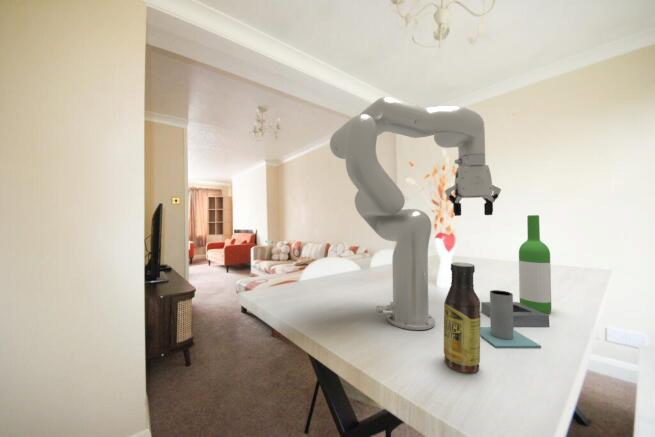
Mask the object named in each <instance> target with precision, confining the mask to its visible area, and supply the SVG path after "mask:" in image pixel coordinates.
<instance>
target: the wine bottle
mask: <svg viewBox="0 0 655 437" xmlns="http://www.w3.org/2000/svg"><path fill="white" fill-rule="evenodd" d="M540 233H541V232H540V215H538V214H535V215H534V214H532V215H527V240H526V241H524V242H523V243H522V244H521V245H520V246H519V250H518V278H519V279H518V281H519V282H518V283H519V284H518V287H519V289H518V290H519V296H518V297H519V303H521V304H523V305H526V306H528V307H530V308H533V309H535V310H537V311H540V312H542V313H545V314H547V315H548V314H550V313H551V312H552V274H551V270H552V269H551V252H550V249H549V247H548V245H546V244H545V243H544V242H542V241H541V236H540Z"/></svg>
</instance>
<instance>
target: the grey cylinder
mask: <svg viewBox="0 0 655 437" xmlns="http://www.w3.org/2000/svg"><path fill="white" fill-rule="evenodd" d="M513 295H514V294H513V293H511V292H510V291H507V290H506V291H504V290H501V289H500V290H499V289H498V290H497V289H494V290H493V289H492V290H490V291H489V302H490V317H489V318H490V325H489V327H491V334H492V335H493V336H495V337H497V338H501V339H507V340H509V339H513V330H514V327H513V302H514V296H513Z"/></svg>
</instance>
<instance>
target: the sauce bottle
mask: <svg viewBox="0 0 655 437" xmlns="http://www.w3.org/2000/svg"><path fill="white" fill-rule="evenodd" d="M475 267H476V266H475V265H474V264H473V263H468V262H460V261H459V262H458V261H457V262H452V263H451V264H450V271H451V283H450V284H451V285H450V287H449V290H448V292H447V294H446V298H445V299H444V303H443V304H444V305H443V307H444V308H443V309H444V311H443V354H444V361H445V363H446V365H447V366H448V367H450V368H451V369H453V370H455V371H457V372H459V373H467V374H469V373H475V372H478V370H480V363H481V362H480V361H481V337H480V327H481V310H480V309H481V301H480V298H479V297H478V295H477V294H476V292H475V290H474V287H475V286H474V273H475Z"/></svg>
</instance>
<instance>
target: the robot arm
mask: <svg viewBox="0 0 655 437" xmlns="http://www.w3.org/2000/svg"><path fill="white" fill-rule="evenodd" d="M387 132H389V133H393V134H396V135H401V136H405V137H409V138H414V139H418V138H419V139H420V138H426V137H430V136H433V140H434V142H435V144H436V145H437V146H438V147H441V148H444V149H445V148H446V149H447V148H448V149H449V148H458V150H457V151H458V158H457V159H455V160H454V164H455V165H457V166H458V167H457V168H456V172H455V177H454V185H453V186H450V187H448V188H447V189H445V190H444V193H445V196H446V198H447V199H448V200H449V201H450V202H451V204H452V209H453V210H452V212H453V214H454V216H455V217H458V216H459V217H460V216H462V204H461V200H462V199H467V198H468V199H469V198H470V199H471V198H475V199H476V198H481V199H483V200H484V204H483V209H484V212H483V213H484V215H485V216H492V215H493V212H494V203H495V201H496V200H497V199H498V198H499V195H500V193H501V191H502V189H501V188H500V187H498V186H495V185H494V184H493V181H492V179H493V178H492V174H491V170H490V167H489V165H488V164H486V138H485V137H486V134H485V133H486V132H485V122H484V119H483V117H482V116H481V115H480V114H479V113H478V112H476V111H474V110H472V109H469V108H465V107H461V106H458V105H457V106H456V105H455V106H454V105H449V106H448V105H447V106H445V105H444V106H431V107H430V106H429V107H424V106H420V105H418V104H413V103H410V102H407V101H404V100H402V99H398V98H395V97H392V96H383V97H380V98H378V99H376V100H375V101H374V102H372V103H371V104H370V105H369V106H367V108H366V109H364V110H362V111H361V113H359V114H357V115H355V116H353V117H352V118H350V119H349V120H347V121H346V122H345V123H344V124H343V125H342V126H340V127H339V128H338V129H337V130H336V131H335V132H333V134H332V135H331V137H330V139H329V140H330V141H329V148H330V151H331V153H332V154H333V155H334V156H335V157H336V158H339V159H341V160H345V168H346V172H347V175H348V178H349V179H350V181H351V183H352V184H353V186H355V189H357V192H356V194H355V196H354V205H355V208H356V211H357V213H358V215H360V217H361V218H362V220H364V221H365V222H366V223H367V225H368V226H369V227H370V228H371V229H372V230H373V231H374V232H375V233H376V234H377V235H378V236H379V237H380V238H382V239H383V240H386V241H388V242H396V244H395V247H394V250H393V253H392V259H391V260H392V301H389V304H388V305H386V306H385V305H384V306H383V305H376V306H375V310H376V314H382V316H387V321H388V322H389V323H390V324H391V325H393V326H395V327H398V328H401V329H405V330H411V331H424V330H430V329H431V328H433V327H435V325H436V322H435V318H434V317H433V316H432V315H430V314H429V267H428V266H429V262H428V260H429V259H428V258H429V245H430V244H429V243H430V239H431V233H432V221H431V219H430V217H429V215H428V214H427V213H425V211H422V210H420V209H416V208H407V209H403V208H404V207H405V200H406V199H405V196H404V193H403V192H402V190H401V189H400V188H399V187H398V185H397V184H396V182H395V181H394V180H393V179H392V177H390V174H388V173H387V172H386V170H385V169H384V167H383V166H382V165H381V163H380V161H379V159H378V156H377V141H378V136H380V135H382V134H384V133H387ZM452 192H454V195H453V194H452Z"/></svg>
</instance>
